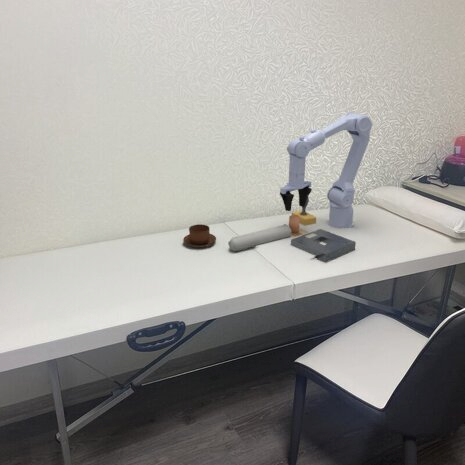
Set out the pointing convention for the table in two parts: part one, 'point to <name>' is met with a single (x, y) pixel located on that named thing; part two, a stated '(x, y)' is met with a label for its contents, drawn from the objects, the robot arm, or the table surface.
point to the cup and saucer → (199, 236)
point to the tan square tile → (298, 233)
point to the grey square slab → (324, 252)
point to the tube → (259, 237)
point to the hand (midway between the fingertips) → (295, 208)
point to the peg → (294, 223)
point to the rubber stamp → (305, 215)
